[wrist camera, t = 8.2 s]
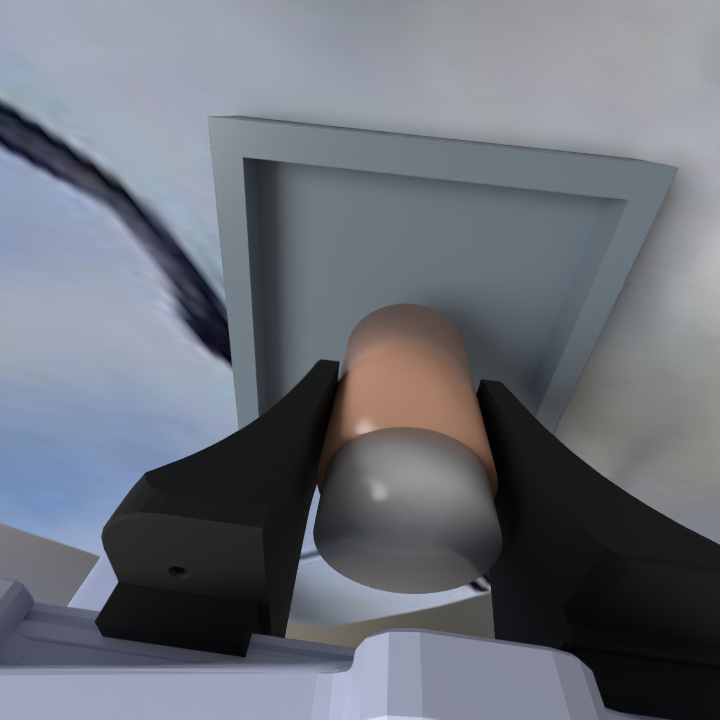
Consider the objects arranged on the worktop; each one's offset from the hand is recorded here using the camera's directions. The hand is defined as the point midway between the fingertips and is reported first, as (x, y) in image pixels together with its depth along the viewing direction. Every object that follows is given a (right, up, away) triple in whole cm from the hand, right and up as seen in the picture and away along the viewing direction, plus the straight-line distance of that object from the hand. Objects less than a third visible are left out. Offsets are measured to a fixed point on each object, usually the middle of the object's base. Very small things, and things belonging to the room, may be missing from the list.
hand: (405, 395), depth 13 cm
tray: (0, +3, +5) cm, 6 cm away
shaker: (0, +1, +2) cm, 2 cm away
